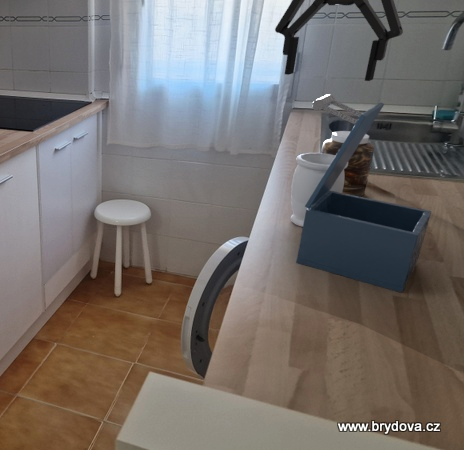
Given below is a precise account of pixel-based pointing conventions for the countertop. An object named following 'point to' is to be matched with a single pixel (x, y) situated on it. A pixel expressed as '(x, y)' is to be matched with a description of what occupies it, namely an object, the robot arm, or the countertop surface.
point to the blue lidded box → (363, 239)
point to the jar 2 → (352, 162)
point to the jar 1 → (310, 181)
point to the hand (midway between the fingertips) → (327, 77)
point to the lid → (348, 145)
